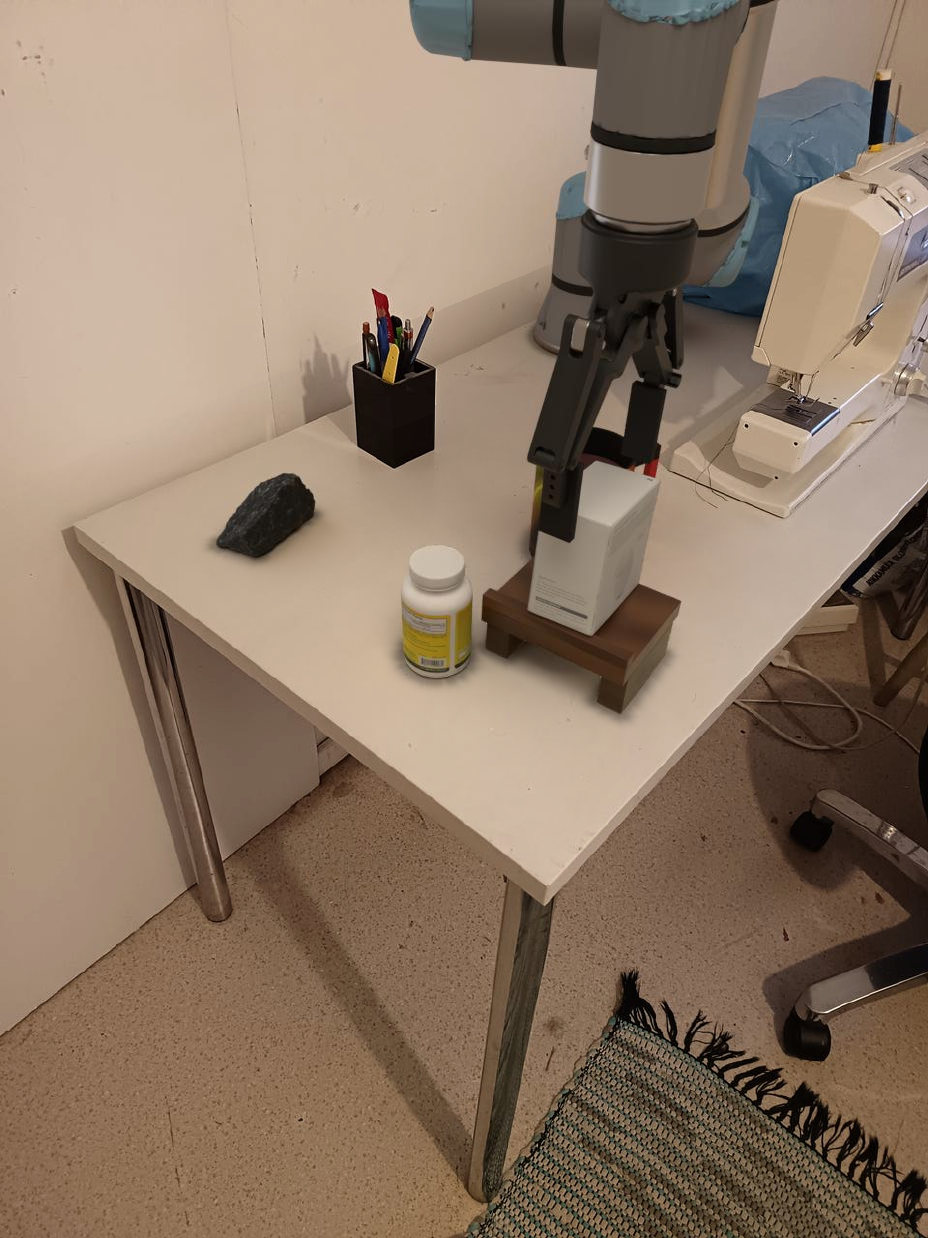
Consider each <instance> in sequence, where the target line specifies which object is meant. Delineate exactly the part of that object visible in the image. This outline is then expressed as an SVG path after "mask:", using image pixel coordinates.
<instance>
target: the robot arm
mask: <svg viewBox="0 0 928 1238" xmlns="http://www.w3.org/2000/svg"><path fill="white" fill-rule="evenodd" d="M779 1H780V0H408V5H409V15H410V22H411V27H412V30H413V33H414V36H415V38H416V40H417V43H418V44H419V46H421V48H422V49H423V50H425V51H426V52H428V53H429V54H432V55H439V56H445V57H452V58H453V57H454V58H460V59H462V61H464V62H470V61H483V62H484V61H485V62H495V63H496V62H498V63H512V64H525V65H526V64H527V65H540V66H554V67H566V68H574V69H575V68H576V69H586V70H595V71H596V77H595V85H594V87H595V88H594V95H593V96H594V97H593V106H592V107H593V108H592V117H591V118H592V119H591V123H590V129H589V133H590V134H589V135H590V136H589V142H588V143H589V144H587V146H586V147H585V149H584V151H583V158H584V159H585V160H586V161H587V162H586V170H584V171H582V172H578V173H576V174H573V175H572V176H570V177H569V178H567V179H566V180H565V181H564V182H563V183H562V185H561V187H560V191H559V197H558V204H557V210H556V212H555V215H554V216H555V231H554V241H553V242H554V244H553V256H552V264H551V265H552V267H551V277H550V285H549V288H548V291H547V293H546V296H545V298H544V299H543V302H542V305H541V307H540V310H539V312H538V315H537V317H536V321H535V325H534V333H533V335H534V336H533V337H534V339H535V342H537V344H538V345H539V346H540V347H542V348H543V349H545V350H547V351H549V352H551V353H553V354H556V355H557V357H556V360H555V362H554V366H553V370H552V373H551V377H550V380H549V383H548V386H547V390H546V393H545V396H544V400H543V403H542V406H541V409H540V412H539V416H538V419H537V422H536V425H535V428H534V431H533V435H532V438H531V443H530V445H529V449H528V452H527V454H526V455H527V456H526V461H527V463H529V464H532V465H533V466H536V465H537V466H539V467H542V468H544V477H543V487H542V498H541V508H540V518H539V529H538V531H541V532H543V533H546V534H548V535H550V536H553V537H555V538H558V539H560V540H563V541H565V542H568V543H570V542H571V541H572V540H573V539H575V531H576V524H577V516H578V508H579V501H580V493H581V485H582V478H583V470H584V463H582V462H580V461H579V459H580V456H581V454H582V451H583V449H584V447H585V444H586V442H587V440H588V437H589V435H590V433H591V430H592V428H593V427H595V426H594V425H595V423H596V421H597V418H598V416H599V414H600V411H601V409H602V406H603V404H604V402H605V399H606V397H607V395H608V392H609V390H610V387H611V385H612V383H613V381H614V380H616V379H617V380H618V379H620V378H621V377H622V376H623V375H624V372H625V370H626V368H627V365H628V363H629V361H630V358H632V361H633V364H634V366H635V369H636V372H637V375H638V377H639V378H640V379H642V380H643V381H641V380H638V379H636V380H635V381H633V382H632V383H631V390H630V394H629V402H628V406H627V413H626V420H625V425H624V432H623V444H622V450H621V454H622V455H624V456H627V457H630V458H633V459H636V460H639V461H642V462H644V463H647V464H651V463H652V462H653V461H654V456H655V451H656V445H657V443H658V439H659V435H660V429H661V424H662V418H663V414H664V409H665V403H666V398H667V393H668V389H667V388H665V387H669V388H673V389H678V388H679V387H680V385H681V382H682V379H683V374H682V373H678V372H675V371H674V370H676V371H680V369H681V368H682V366H683V365H684V362H685V345H684V343H685V342H684V341H685V340H684V339H685V338H684V337H685V335H684V297H683V296H684V295H685V294H686V293H683V288H685V285H689V286H696V287H704V288H706V287H710V288H711V287H712V288H725V287H727V286H730V285H731V284H733V282H734V281H735V280H736V278H737V277H738V275H739V273H740V270H741V268H742V266H743V263H744V260H745V258H746V255H747V252H748V248H749V244H750V242H751V239H752V237H753V234H754V230H755V227H756V223H757V218H758V216H759V210H760V201H759V199H758V198H757V197H754V196H753V195H751V186H750V184H749V180H748V179H747V177H746V176H745V175H744V169H745V164H746V159H747V155H748V151H749V146H750V141H751V140H750V139H751V135H752V130H753V127H754V126H753V125H754V121H755V115H756V110H757V107H758V106H757V105H758V101H759V97H760V91H761V87H762V81H763V76H764V72H765V66H766V62H767V58H768V52H769V49H770V43H771V37H772V32H773V28H774V23H775V19H776V13H777V10H778V9H777V8H778V4H779Z"/></svg>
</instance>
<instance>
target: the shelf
mask: <svg viewBox="0 0 928 1238" xmlns="http://www.w3.org/2000/svg"><path fill="white" fill-rule="evenodd" d="M534 560H535V556H534V557H533V558H532V557H531V559H529V560H528V561H527V562H526V563H525V564H524V565H523V566H522V567H521V568H520V569H519V570H517V572H515V573H514V574H513V575H512V576H511V577H510V578H509V579H508V580H507V581H506V582H505V583H503V584H502V586H500V587H499V588H498V590H496V589H493V588H491V587H489V588H487V590H486V591H485V592H484V593H483V594H482V600H481V601H482V602H481V616H480V617H481V618H480V619H481V621H482V622H483V623H486V632H485V633H486V634H485V649H486V650H488V651H490V652H492V653H493V654H496V655H498V656H500V657H502V658H504V659H506V660H508V659H509V658H510V657H511V656H512V655H513V653H514V652H515V651H517V649H519V647H520V646H521V645H522V644H523V643H524V642H527V643H529V644H532V645H533V646H535V647H538V648H539V649H541V650H543V651H546V652H548V653H550V654H552V655H555V656H557V657H559V658H561V659H562V660H565V661H567V662H569V663H572V664H574V665H576V666H578V667H580V668H582V669H584V670H587V671H589V672H590V673H593V674H595V675H597V676H599V677H600V681H599V685H598V692H597V698H596V703H597V704H599V705H601V706H604V707H605V708H608V709H610V710H611V711H614V712H616V713H618V714H619V715H621V714H623V712H624V710H626V709H627V707H628V705H630V703H631V701H632V700H633V699H634V698H635V696H636V695H637V693H638V692H639V690H641V688H642V687H643V686H644V684H645V683H646V682H647V680H648V679H649V678H650V676H651V675H652V674H653V672H654V671H655V670H656V668H657V667H658V666H659V664H660V663H661V662H662V660H663V659H664V658H665V657H666V653H667V649H668V645H669V641H670V638H671V637H670V636H671V633H672V629H673V624H674V622H675V620H676V619H677V618H678V616H679V614H680V613H679V612H680V609H681V606H682V600H680V599H678V598H676V597H673V596H671V595H668V594H665V593H663V592H661V591H658V590H656V589H654V588H651V587H649V586H646V585H643V584H641V583H639V584H638V585H637V586H636V587H635V588H634V589H633V590H632V592H631V593H630V594H629V595H628V596H627V597H626V599H625V600H624V601H623V602H622V603H621V604H620V605H619V607H618V608H617V609H616V610H615V611H614V612H613V613H612V614H611V616H610V617H609V618H608V619H607V620H606V621H605V622H604V623H603V624H602V626H601V627H600V628H599V629H598V630H597V631H596V632H595V633H594V634H593V636H589V635H586V634H584V633H581V632H579V631H577V630H574V629H572V628H569V627H567V626H564V625H562V624H560V623H557V622H555V621H553V620H550V619H548V618H545V617H542V616H539V615H537V614H535V613H532V612H530V611H528V610H527V608H528V602H529V595H530V588H531V581H532V574H533V568H534Z"/></svg>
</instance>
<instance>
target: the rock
mask: <svg viewBox="0 0 928 1238" xmlns="http://www.w3.org/2000/svg"><path fill="white" fill-rule="evenodd" d="M315 509H316V500H315V495H314V493H313V492H312V491H311V489H310V488H308V487H307V486H306V484H304V483H303V481H302V479H301V477H300V475H297V474H296V473H293V472H292V473H291V472H290V473H288V472H282V473H281V474H278V475H276V476H275V477H271V478H268V479H266V480H264V481H261V482H259V484H258V485H256V486H255V487H254V488H253V490H251V492H249V493H248V495H247V496H246V497H245V498H244V500H243V501H242V503H241V504H240V505H238V507H237V508H236V509H235V511H234V513H232V515H231V516H230V517H229V518H228V520H227V522H226V524H225V527H224V529H223V530H222V532H221V533H220V534H219V535H218V536H217V538H216V540H215V541H216V542H215V544H216V546H217V547H219V548H221V549H224V548H229V550H235V551H236V552H237V551H238V552H239V553H242V554H248V555H250V556H253V557H259V556H261V555H263V554H264V553H266V552H268V551H270V550H271V549H272V548H274V546H275V545H276V544H278V543H279V542H281V541H282V540H283V539H284V538H285V537H288V535H289V534H290V533H292V531H293V530H295V529H298V528H299V527H301V525H302V523H303V522H305V521H307V520H309V519H311V518H313V517H314V514H315Z"/></svg>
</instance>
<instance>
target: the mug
mask: <svg viewBox="0 0 928 1238" xmlns="http://www.w3.org/2000/svg"><path fill="white" fill-rule="evenodd" d="M623 437H624V435H622V434H620V433H618V432H615V431H613V430H610V429H606V428H604V427H603V428H602V427H598V426H593V428H592V430H591V433H590V435H589V437H588V440H587V442H586V444H585V447H584V449H583V451H582V454H581V456H580V459H579V461H580V462H582V463H584V470H585V469H586V468H587V467H589V466H590V465H591V464H592V463H594V462H595V461H599V462H603V463H606V464H610V465H613V466H616V467H620V468H623V469H627V470H630V471H633V472H636V471H635V470H636V468H638V467H640V466H643V465H644V466H643V471H642V472H643V473H642V474H643V475H647V476H650V477H653V478H656V477H657V472H658V467H659V462H660V461H659V460H660V456H661V451H662V444H661V443H659V442H657V445H656V451H655V456H654V461H653V462H652V463H651V464H647V463H644V462H642V461H639V460H636V459H633V458H630V457H627V456H624V455H622V454H621V450H622V444H623ZM584 470H583V471H584ZM534 474H535V475H534V485H533V486H534V487H533V495H532V496H533V498H532V509H531V519H530V531H529V542H528V551H529V554H530V556H531V559H532V558H533V557H534V556H535V553H536V546H537V539H538V532H539V531H538V529H539V518H540V508H541V498H542V487H543V477H544V468H542V467H539V466H537V465H535V473H534Z"/></svg>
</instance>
